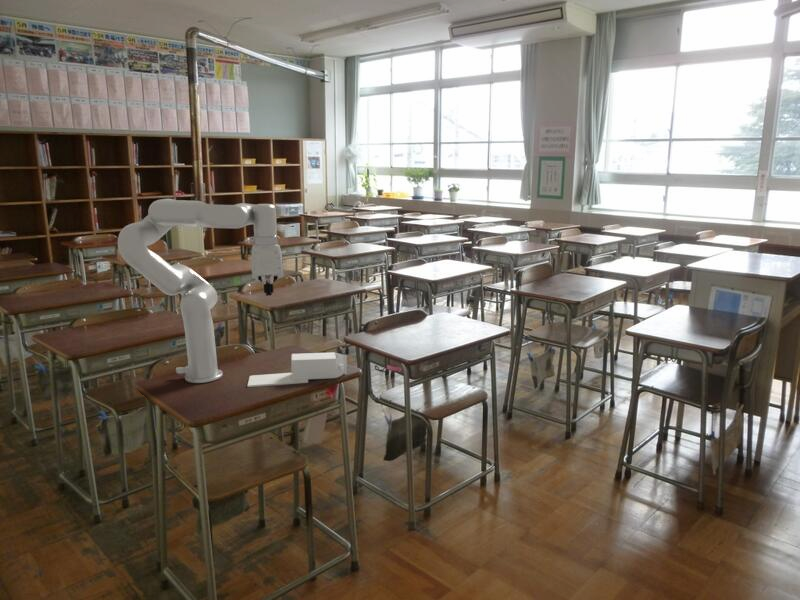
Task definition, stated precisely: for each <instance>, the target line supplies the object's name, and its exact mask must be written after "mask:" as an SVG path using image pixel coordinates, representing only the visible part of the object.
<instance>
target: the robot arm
mask: <svg viewBox="0 0 800 600" xmlns="http://www.w3.org/2000/svg"><path fill="white" fill-rule="evenodd" d="M276 209H277V208H276V205H274V204H272V203H258V204H253V203H244V202H242V203H236V204H215V203H214V204H213V203H212V204H211V203H206V202H203V201H201V200H183V199H182V200H181V199H179V200H176V199H173V198H161V199H157V200H154V201H153V202H152V203H151V204H150V205H149V207H148V210H147V211H148V213H147V215H146V216H145V217H144V218H142V219H141V220H140V221H136V222H133V223H129V224H128V225H125V226H124V227H123V228H122V229H121V230H120V232H119V233H118V237H117V248H118V252H119V253H120V254H119V255H120V256H121V258H122V259H123V260H124V261H125V262H126V264H127V265H129V266H130V267H131V268H133V269H134V271H136V272H138V273H139V274H140V275H142V277H144V278H145V279H146V280H147V281H149V283H151V284H152V285H154V286H155V287H156V288H157V289H158V290H159V291H161V292H162V293H163V294H164V295H167V296H170V297H171V296H176V295H179V294H180V295H181V296H182V297H181V298H180V304H179V307H180V308H179V310H180V313H181V317H182V322H183V327H184V328H183V330H184V335H185V336H184V337H185V345H186V355H187V365H186V366H178V367H176V368H175V373H176V374H178V375H185V376H184V379H185V381H186V382H188V383H191V384H204V383H209V382H214V381H216V380H218V379H219V380H220V379H221V378H222V377H223V374H224V373H223V371H222V370H221V369H218V359H217V349H216V338H215V329H214V323H213V322H214V321H213V318H212V313H211V309H213V308H214V307H215V305H216V304H217V302H218V300H219V299H218V298H219V297H218V293H217V290H216V289H215V288H214V287H213V285H211V284H210V283H209V282H208V281H206V279H205V278H203V277H202V276H201V275H199V274H198V273H197V272H195V270H193V269H192V268H191V267H189V266H187V265H185V264H182V263H176V264H170V263H169V262H167V261H166V260H165V259H164V258H162V257H161V256H160V255H159V254H157V252H156V253H155V252H154V251H153V250H151V249H149V248H148V246H151V245H154V244H155V243H156V242H158V241H159V240H160V239H161V238H162V237H164V235H166V234H167V232H169V231H170V230H171V229H172V228H173V227H194V228H195V227H196V228H199V227H200V228H211V229H212V228H214V229H241V228H244V227H246V226H250V225H253V237H250V238H249V242H250V243H253V244H252V247H251V267H250V268H251V278H252V279H255V280H259V281H260V282H261V283H262V284H263V292H264V294H265V296H266V297H268V296H272V295H273V293H274V283H275V282H276V281H277V279H282V278H284V277H285V274H284V263H283V256H282V249H281V245H280V244H278V227H277V225H278V224H277V210H276ZM267 276H269V281H268V279H267Z"/></svg>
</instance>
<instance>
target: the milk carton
mask: <svg viewBox="0 0 800 600" xmlns="http://www.w3.org/2000/svg"><path fill="white" fill-rule="evenodd" d="M290 363H291V367H290V368H291V369H290V370H291V373H292V380H306V379H308V380H325V379H338V378H339V377H342V376H344V375H347V374H348V355H347V354H342V353H338V352H333V351H332V352H311V353H310V352H309V353H307V352H306V353H304V352H303V353H291V362H290ZM343 374H344V375H343Z"/></svg>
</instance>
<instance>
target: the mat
mask: <svg viewBox="0 0 800 600" xmlns="http://www.w3.org/2000/svg"><path fill="white" fill-rule="evenodd" d="M308 383H309V379H306V380H292V372H281V373H270V374H269V373H268V374H253V375H249V378H248V382H247V386H246V387H247V388H256V387H257V388H258V387H270V386H285V385H296V384H297V385H298V384H308Z"/></svg>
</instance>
